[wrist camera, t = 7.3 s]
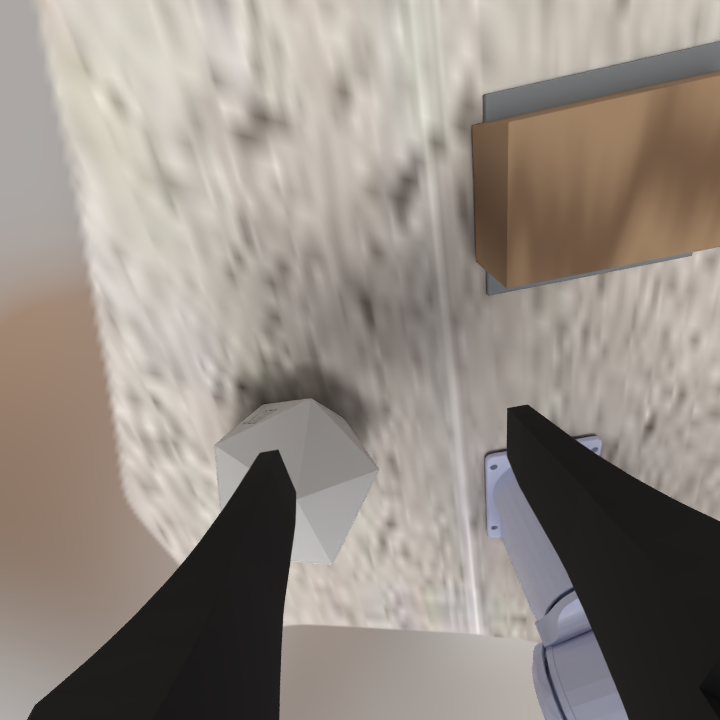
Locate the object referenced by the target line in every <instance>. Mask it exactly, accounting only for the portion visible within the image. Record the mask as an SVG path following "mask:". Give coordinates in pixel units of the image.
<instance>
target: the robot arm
mask: <svg viewBox="0 0 720 720" xmlns="http://www.w3.org/2000/svg"><path fill="white" fill-rule="evenodd" d="M601 447H602V441H601V439H600V438H599V437H597V436H591V437H585V438H579V439H574V438H572V437H571V436H570V435H568V434H567V433H565V432H564V431H563V430H561V429H560V428H559V427H557V426H556V425H555V424H553V423H552V422H551V421H549V420H548V419H546V418H545V417H544V416H542V415H541V414H540V413H538V412H537V411H536V410H534V409H533V408H532V407H530V406H529V405H523V406H517V407H511V408H507V451H504V452H499V453H493V454H489V455H488V456H487V457H486V458H485V478H486V516H487V534H488V537H489V538H492V539H495V538H501V537H502V540H503V542H504V545H505V547H506V550H507V552H508V555H509V557H510V559H511V562H512V564H513V567H514V569H515V572H516V574H517V577H518V579H519V582H520V584H521V587H522V589H523V591H524V594H525V596H526V599H527V601H528V604H529V606H530V608H531V610H532V612H533V614H534V615H535V617H536V618H537V621H536V622H535V625H536V627H537V630H538V632H539V635H540V637H541V640H542V642H541V643H538V644H537V645H536V646H535V648H534V651H533V665H532V673H533V681H534V686H535V691H536V694H537V698H538V701H539V704H540V707H541V710H542V712H543V715H544V718H545V720H720V521H718V520H716V519H714V518H712V517H710V516H707V515H705V514H703V513H701V512H699V511H697V510H695V509H693V508H690V507H688V506H686V505H684V504H682V503H680V502H678V501H676V500H674V499H673V498H671V497H669V496H667V495H665V494H663V493H661V492H659V491H658V490H656V489H654V488H652V487H650V486H648V485H647V484H645V483H643V482H641V481H639V480H638V479H636V478H634V477H632V476H631V475H629V474H627V473H626V472H624V471H622V470H621V469H619V468H618V467H616V466H614V465H613V464H611V463H610V462H608V461H606V460H605V459H603V458H602V457H600V452H601ZM492 465H493V466H492ZM295 525H296V490H295V488H294V486H293V483H292V481H291V478H290V476H289V474H288V471H287V469H286V466H285V464H284V462H283V459H282V457H281V454H280V452H279V450H278V449H277V450H272V451H266V452H261V453H259V454H258V456H257V457H256V459H255V460H254V462H253V464H252V465H251V467H250V468H249V470H248V472H247V473H246V475H245V476H244V478H243V479H242V481H241V483H240V484H239V486H238V487H237V489H236V490H235V492H234V493H233V495H232V496H231V498H230V499H229V501H228V502H227V504H226V505H225V507H224V508H223V510H222V511H221V513H220V514H219V516H218V517H217V519H216V520H215V521H214V523H213V524H212V525H211V527H210V528H209V530H208V531H207V532H206V534H205V535H204V536H203V538H202V539H201V541H200V542H199V543H198V544H197V546H196V547H195V548H194V550H193V551H192V552H191V553H190V555H189V556H188V557H187V558H186V560H185V561H184V562H183V563H182V564H181V565H180V567H179V568H178V569H177V570H176V571H175V573H174V574H173V575H172V576H171V577H170V578H169V579H168V581H167V582H166V583H165V584H164V585H163V586H162V587H161V588H160V589H159V590H158V591H157V592H156V593H155V594H154V596H153V597H152V598H151V599H150V600H149V601H148V602H147V603H146V604H145V605H144V606H143V607H142V608H141V609H140V610H139V612H138V613H137V614H136V615H135V616H134V617H133V618H132V619H131V620H129V621H128V623H126V624H125V626H123V627H122V628H121V629H120V630H119V631H118V632H117V633H116V634H115V635H114V636H113V637H112V638H111V639H110V640H109V641H108V642H107V643H106V644H104V645H103V646H102V647H101V648H100V649H99V650H98V651H97V652H96V653H95V654H94V655H93V656H91V657H90V658H89V659H88V660H87V661H86V662H85V663H84V664H83V665H81V666H80V667H79V668H78V669H77V670H76V671H74V672H73V673H72V674H71V675H70V676H69V677H67V678H66V679H65V680H64V681H63V682H62V683H61V684H59V685H58V686H57V687H56V688H55V689H54V690H52V691H51V692H50V693H49V694H48V695H47V696H45V697H44V698H43V699H42V700H41V701H39V702H38V703H37V704H36V705H35V706H34V708H33V710H32V712H31V713H30V715H29V717H28V719H27V720H279V707H280V703H279V702H280V672H281V646H282V628H283V613H284V603H285V595H286V588H287V581H288V574H289V568H290V561H291V554H292V547H293V540H294V533H295Z"/></svg>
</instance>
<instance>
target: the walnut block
mask: <svg viewBox="0 0 720 720" xmlns="http://www.w3.org/2000/svg"><path fill="white" fill-rule="evenodd" d="M472 135H473V167H474V198H475V230H476V262H478V263H479V264H480V265H481V266H482V267H483V268H484V269H485V270H486V271H487V272H489V273H490V274H491V275H492V276H493V277H494V278H495V279H496V280H497V281H499V282H500V283H501V284H502V285H503V286H504V287H505V288H506V289H508V288H513V287H518V286H523V285H529V284H534V283H539V282H544V281H549V280H554V279H559V278H564V277H569V276H574V275H579V274H584V273H589V272H594V271H599V270H604V269H610V268H615V267H620V266H625V265H630V264H635V263H640V262H645V261H650V260H655V259H660V258H665V257H670V256H675V255H680V254H685V253H690V252H696V251H701V250H706V249H711V248H716V247H720V71H714V72H710V73H705V74H701V75H696V76H692V77H687V78H683V79H678V80H674V81H669V82H665V83H660V84H656V85H651V86H647V87H642V88H638V89H633V90H629V91H624V92H620V93H615V94H611V95H606V96H602V97H597V98H593V99H588V100H584V101H579V102H575V103H570V104H566V105H561V106H557V107H553V108H548V109H544V110H539V111H535V112H530V113H526V114H521V115H517V116H512V117H508V118H503V119H499V120H494V121H490V122H485V123H481V124H476V125H472Z"/></svg>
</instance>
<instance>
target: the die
mask: <svg viewBox="0 0 720 720" xmlns="http://www.w3.org/2000/svg"><path fill="white" fill-rule="evenodd" d="M214 448H215V458H216V469H217V480H218V489H219V498H220V507H221V511H222V510H223V508H224V507H225V505H226V504H227V502H228V501H229V499H230V498H231V496H232V495H233V493H234V492H235V490H236V489H237V487H238V486H239V484H240V483H241V481H242V479H243V478H244V476H245V475H246V473H247V472H248V470H249V468H250V467H251V465H252V464H253V462H254V460H255V459H256V457H257V456H258V454H259V453H261V452H266V451H272V450H277V449H278V450H279V452H280V454H281V457H282V459H283V462H284V464H285V466H286V469H287V471H288V474H289V476H290V478H291V481H292V483H293V486H294V488H295V490H296V525H295V533H294V540H293V547H292V554H291V561H296V562H306V563H316V564H326V565H333V563H334V561H335V559H336V557H337V555H338V553H339V551H340V549H341V547H342V545H343V543H344V541H345V539H346V537H347V535H348V532H349V530H350V528H351V526H352V524H353V522H354V520H355V518H356V516H357V514H358V512H359V510H360V508H361V506H362V504H363V502H364V500H365V498H366V496H367V494H368V492H369V490H370V488H371V485H372V483H373V481H374V479H375V477H376V475H377V473H378V471H379V468H378V467H377V466H376V464H375V463H374V461H373V460H372V458H371V457H370V455H369V454H368V452H367V451H366V450H365V448H364V447H363V445H362V444H361V442H360V441H359V439H358V438H357V436H356V435H355V434H354V432H353V431H352V429H351V428H350V426H349V425H348V423H347V422H346V420H345V419H344V418H343V417H341V416H339V415H338V414H336V413H335V412H333V411H331V410H330V409H328V408H326V407H325V406H323V405H321V404H320V403H318V402H317V401H315V400H313V399H312V398H309V399H301V400H293V401H286V402H278V403H270V404H262V405H261V406H260V407H259V408H258V409H256V410H255V411H254V412H253V413H252V414H250V415H249V416H248V417H247V418H246V419H245V420H243V421H242V422H241V423H240V424H239V425H237V426H236V427H235V428H234V429H233V430H232V431H230V432H229V433H228V434H227V435H226V436H224V437H223V438H222V439H221V440H220V441H219V442H217V443H216V444H215V445H214Z"/></svg>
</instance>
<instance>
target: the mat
mask: <svg viewBox="0 0 720 720" xmlns="http://www.w3.org/2000/svg"><path fill="white" fill-rule="evenodd" d="M714 71H720V42H716V43H711V44H707V45H702V46H698V47H693V48H689V49H685V50H680V51H676V52H671V53H667V54H663V55H658V56H654V57H649V58H645V59H640V60H636V61H632V62H627V63H623V64H618V65H614V66H610V67H605V68H601V69H596V70H592V71H587V72H583V73H579V74H574V75H570V76H565V77H561V78H557V79H552V80H548V81H543V82H539V83H534V84H530V85H526V86H521V87H517V88H512V89H508V90H503V91H499V92H495V93H490V94H486V95H483V118H484V123H485V122H490V121H494V120H499V119H503V118H508V117H512V116H517V115H521V114H526V113H530V112H535V111H539V110H544V109H548V108H553V107H557V106H561V105H566V104H570V103H575V102H579V101H584V100H588V99H593V98H597V97H602V96H606V95H611V94H615V93H620V92H624V91H629V90H633V89H638V88H642V87H647V86H651V85H656V84H660V83H665V82H669V81H674V80H678V79H683V78H687V77H692V76H696V75H701V74H705V73H710V72H714ZM692 253H693V252H690V253H685V254H680V255H675V256H670V257H665V258H660V259H655V260H650V261H645V262H640V263H635V264H630V265H625V266H620V267H615V268H610V269H604V270H599V271H594V272H589V273H584V274H579V275H574V276H569V277H564V278H559V279H554V280H549V281H544V282H539V283H534V284H529V285H523V286H518V287H513V288H508V289H506V288H505V287H504V286H503V285H502V284H501V283H500V282H499V281H497V280H496V279H495V278H494V277H493V276H492V275H491V274H490V273H489V272H487V271H486V289H487V295H488V296H490V295H495V294H500V293H505V292H510V291H515V290H520V289H525V288H530V287H536V286H541V285H546V284H551V283H556V282H561V281H566V280H571V279H576V278H581V277H586V276H591V275H597V274H602V273H607V272H612V271H617V270H622V269H627V268H632V267H637V266H642V265H647V264H653V263H658V262H663V261H668V260H673V259H678V258H683V257H688V256H692Z"/></svg>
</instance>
